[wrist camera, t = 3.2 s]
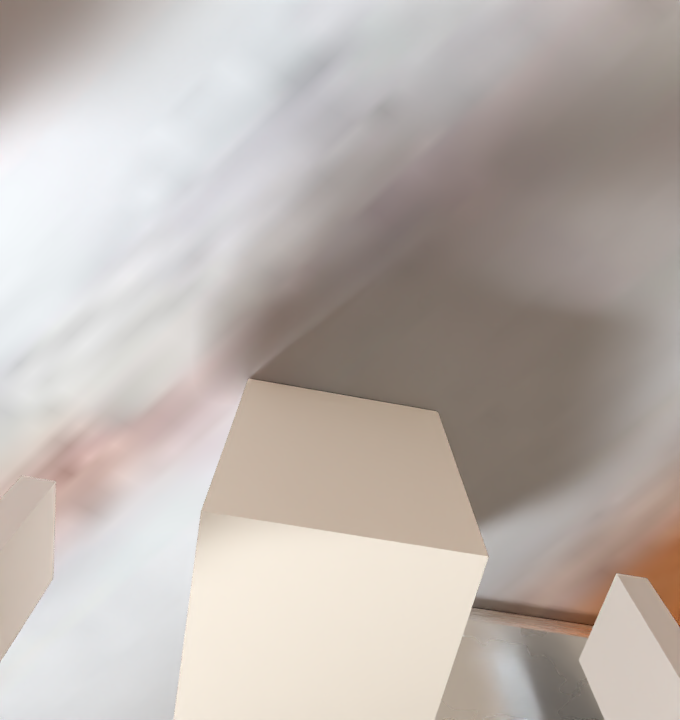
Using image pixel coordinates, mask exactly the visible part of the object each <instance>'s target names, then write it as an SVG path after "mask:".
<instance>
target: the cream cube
mask: <svg viewBox="0 0 680 720" xmlns="http://www.w3.org/2000/svg"><path fill="white" fill-rule="evenodd" d="M488 557H489V556H488V553H487V550H486V547H485V544H484V542H483V539H482V536H481V533H480V530H479V527H478V525H477V522H476V519H475V516H474V513H473V510H472V508H471V505H470V502H469V499H468V496H467V493H466V490H465V488H464V485H463V482H462V479H461V476H460V473H459V471H458V468H457V465H456V462H455V459H454V456H453V453H452V451H451V448H450V445H449V442H448V439H447V436H446V434H445V431H444V428H443V425H442V422H441V419H440V417H439V414H438V411H432V410H427V409H421V408H415V407H409V406H404V405H398V404H392V403H386V402H381V401H375V400H369V399H363V398H358V397H352V396H346V395H340V394H335V393H329V392H323V391H317V390H312V389H306V388H300V387H294V386H289V385H283V384H277V383H272V382H266V381H260V380H254V379H249V378H248V381H247V384H246V387H245V390H244V392H243V395H242V398H241V401H240V404H239V406H238V409H237V412H236V415H235V418H234V420H233V423H232V426H231V429H230V432H229V434H228V437H227V440H226V443H225V446H224V448H223V451H222V454H221V457H220V460H219V462H218V465H217V468H216V471H215V474H214V476H213V479H212V482H211V485H210V487H209V490H208V493H207V496H206V499H205V501H204V504H203V507H202V510H201V516H200V523H199V531H198V538H197V546H196V553H195V561H194V568H193V576H192V583H191V591H190V598H189V606H188V613H187V621H186V629H185V636H184V644H183V651H182V659H181V666H180V674H179V681H178V689H177V696H176V704H175V711H174V719H173V720H435V717H436V714H437V711H438V708H439V705H440V702H441V699H442V696H443V693H444V690H445V687H446V684H447V681H448V678H449V675H450V672H451V669H452V666H453V663H454V660H455V657H456V654H457V651H458V648H459V645H460V642H461V639H462V636H463V633H464V630H465V627H466V624H467V621H468V618H469V615H470V612H471V609H472V606H473V603H474V600H475V597H476V594H477V591H478V588H479V585H480V581H481V578H482V575H483V572H484V569H485V566H486V563H487V560H488Z"/></svg>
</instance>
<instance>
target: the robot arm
mask: <svg viewBox="0 0 680 720" xmlns="http://www.w3.org/2000/svg"><path fill="white" fill-rule="evenodd" d="M55 504H56V481H52V480H46V479H40V478H34V477H28V476H21V477H20V478H19V479H18V480H17V481H16V482H15V483H14V484H13V485H12V487H11V488H10V489H9V490H8V491H7V492H6V493H5V494H4V495H3V496H2V497H1V499H0V662H1V660H2V658H3V657H4V655H5V654H6V652H7V651H8V649H9V647H10V646H11V644H12V643H13V641H14V640H15V638H16V636H17V635H18V633H19V632H20V630H21V629H22V627H23V625H24V624H25V622H26V621H27V619H28V618H29V616H30V614H31V613H32V611H33V610H34V608H35V607H36V605H37V603H38V602H39V600H40V599H41V597H42V596H43V594H44V592H45V591H46V589H47V588H48V586H49V585H50V583H51V581H52V580H53V569H54V536H55ZM579 662H580V664H581V666H582V669H583V671H584V673H585V676H586V678H587V680H588V683H589V685H590V687H591V690H592V692H593V694H594V696H595V699H596V701H597V703H598V706H599V708H600V710H601V713H602V715H603V717H604V719H605V720H680V627H679V626H678V624H677V623H676V621H675V619H674V618H673V616H672V615H671V613H670V612H669V610H668V609H667V607H666V606H665V604H664V603H663V601H662V600H661V598H660V597H659V595H658V594H657V592H656V591H655V589H654V588H653V586H652V585H651V583H650V582H649V580H648V579H647V578H643V577H637V576H630V575H624V574H618V573H616V575H615V578H614V580H613V582H612V585H611V587H610V589H609V592H608V594H607V596H606V598H605V601H604V603H603V605H602V608H601V610H600V612H599V615H598V617H597V619H596V621H595V624H594V626H593V628H592V631H591V633H590V635H589V638H588V640H587V642H586V644H585V647H584V649H583V651H582V654H581V656H580V658H579Z"/></svg>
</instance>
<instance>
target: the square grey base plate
mask: <svg viewBox="0 0 680 720" xmlns="http://www.w3.org/2000/svg"><path fill="white" fill-rule="evenodd" d="M592 628H593V626H590V625H583V624H577V623H570V622H563V621H557V620H550V619H544V618H537V617H531V616H524V615H518V614H511V613H504V612H498V611H491V610H485V609H478V608H472V609H471V612H470V615H469V618H468V621H467V624H466V627H465V630H464V633H463V636H462V639H461V642H460V645H459V648H458V651H457V654H456V657H455V660H454V663H453V666H452V669H451V672H450V675H449V678H448V681H447V684H446V687H445V690H444V693H443V696H442V699H441V702H440V705H439V708H438V711H437V714H436V717H435V720H605V719H604V717H603V715H602V713H601V710H600V708H599V706H598V703H597V701H596V699H595V696H594V694H593V692H592V690H591V687H590V685H589V683H588V680H587V678H586V676H585V673H584V671H583V669H582V666H581V664H580V662H579V658H580V656H581V654H582V651H583V649H584V647H585V644H586V642H587V640H588V638H589V635H590V633H591V631H592Z"/></svg>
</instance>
